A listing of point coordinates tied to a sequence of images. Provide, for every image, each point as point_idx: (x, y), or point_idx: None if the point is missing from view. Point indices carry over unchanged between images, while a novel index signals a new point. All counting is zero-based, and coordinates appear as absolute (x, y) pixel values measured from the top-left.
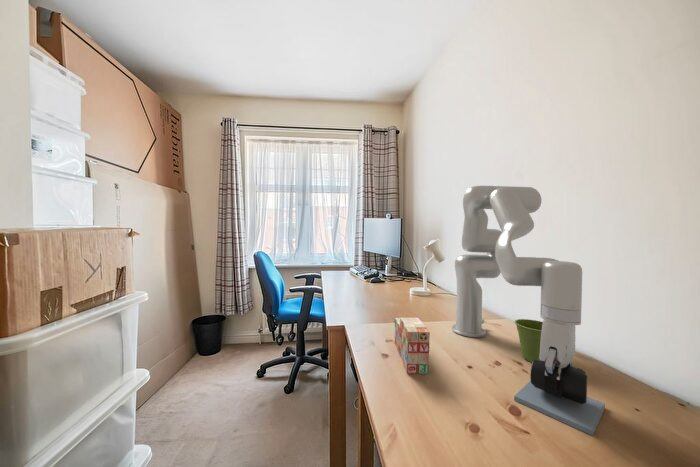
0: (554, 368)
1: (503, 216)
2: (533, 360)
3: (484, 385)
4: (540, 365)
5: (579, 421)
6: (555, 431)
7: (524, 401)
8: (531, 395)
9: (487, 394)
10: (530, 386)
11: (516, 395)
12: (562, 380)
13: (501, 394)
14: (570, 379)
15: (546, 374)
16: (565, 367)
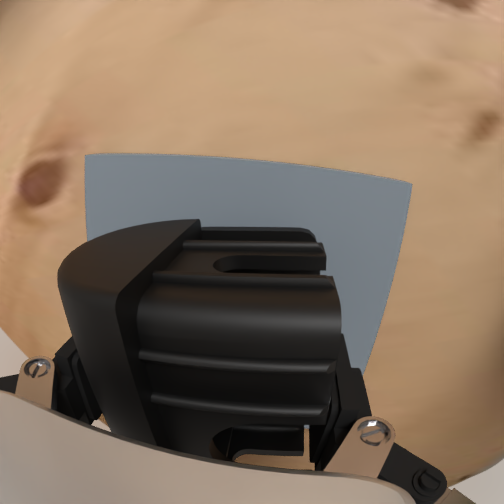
0: (117, 431)
1: None
2: (92, 300)
3: (123, 12)
4: (83, 350)
5: None
6: (49, 305)
7: (86, 201)
8: (155, 213)
9: (62, 63)
10: (258, 186)
11: (95, 160)
12: (87, 423)
13: (101, 95)
14: None
15: (28, 369)
16: (321, 451)
